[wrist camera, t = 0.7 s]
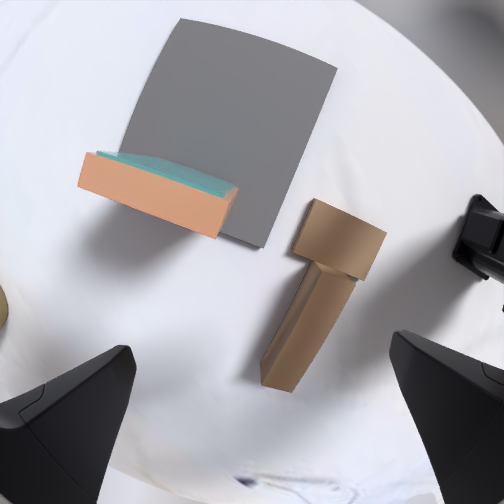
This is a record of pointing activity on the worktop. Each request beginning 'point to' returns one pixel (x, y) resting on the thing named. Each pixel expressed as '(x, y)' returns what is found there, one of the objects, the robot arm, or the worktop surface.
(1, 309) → the squeeze bottle
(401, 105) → the worktop surface
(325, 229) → the turner
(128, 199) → the tile
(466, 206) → the worktop surface
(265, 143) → the mat
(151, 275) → the worktop surface
